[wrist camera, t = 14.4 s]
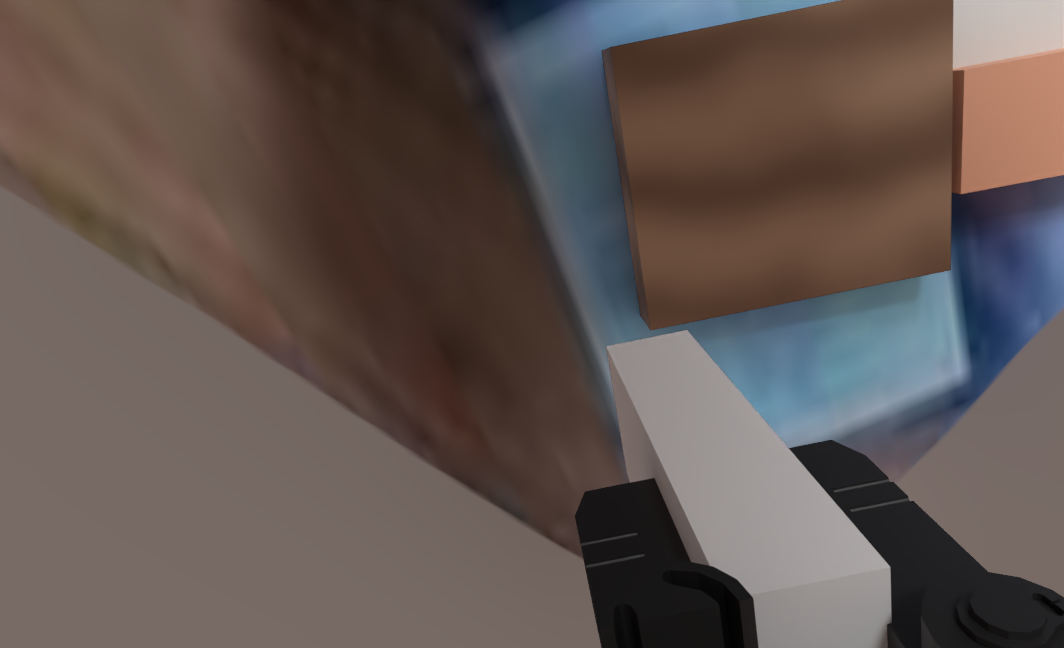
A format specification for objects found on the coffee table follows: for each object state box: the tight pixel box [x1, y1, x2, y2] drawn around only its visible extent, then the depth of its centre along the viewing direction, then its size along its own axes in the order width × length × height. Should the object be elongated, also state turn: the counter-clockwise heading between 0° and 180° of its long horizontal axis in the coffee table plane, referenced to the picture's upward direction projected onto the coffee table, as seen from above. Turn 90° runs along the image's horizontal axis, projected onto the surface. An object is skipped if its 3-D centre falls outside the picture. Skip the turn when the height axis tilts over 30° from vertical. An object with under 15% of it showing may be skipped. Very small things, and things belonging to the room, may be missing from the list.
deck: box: [602, 0, 953, 330], centre depth 34 cm, size 14×16×2 cm
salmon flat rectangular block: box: [951, 48, 1064, 194], centre depth 34 cm, size 9×6×2 cm, turn 100°
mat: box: [953, 0, 1064, 69], centre depth 35 cm, size 10×13×1 cm
